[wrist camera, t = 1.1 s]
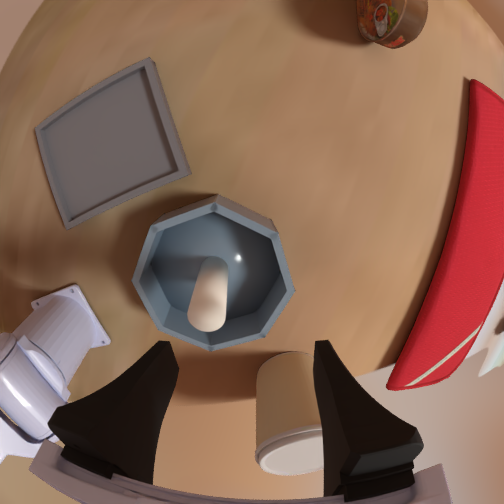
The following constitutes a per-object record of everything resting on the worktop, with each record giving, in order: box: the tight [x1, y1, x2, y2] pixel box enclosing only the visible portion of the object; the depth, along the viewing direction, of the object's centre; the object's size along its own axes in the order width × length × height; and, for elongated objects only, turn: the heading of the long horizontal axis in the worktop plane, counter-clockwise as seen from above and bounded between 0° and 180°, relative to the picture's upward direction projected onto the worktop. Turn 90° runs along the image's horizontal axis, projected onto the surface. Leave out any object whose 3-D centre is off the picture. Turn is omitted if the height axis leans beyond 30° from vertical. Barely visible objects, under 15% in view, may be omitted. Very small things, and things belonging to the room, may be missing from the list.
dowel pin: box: [187, 256, 228, 332], centre depth 21 cm, size 2×2×8 cm
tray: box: [35, 57, 192, 230], centre depth 20 cm, size 13×11×2 cm
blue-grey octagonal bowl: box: [131, 194, 295, 352], centre depth 23 cm, size 12×12×4 cm
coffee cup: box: [255, 352, 324, 475], centre depth 25 cm, size 9×9×12 cm
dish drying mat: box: [386, 79, 504, 391], centre depth 25 cm, size 16×41×4 cm, turn 170°
